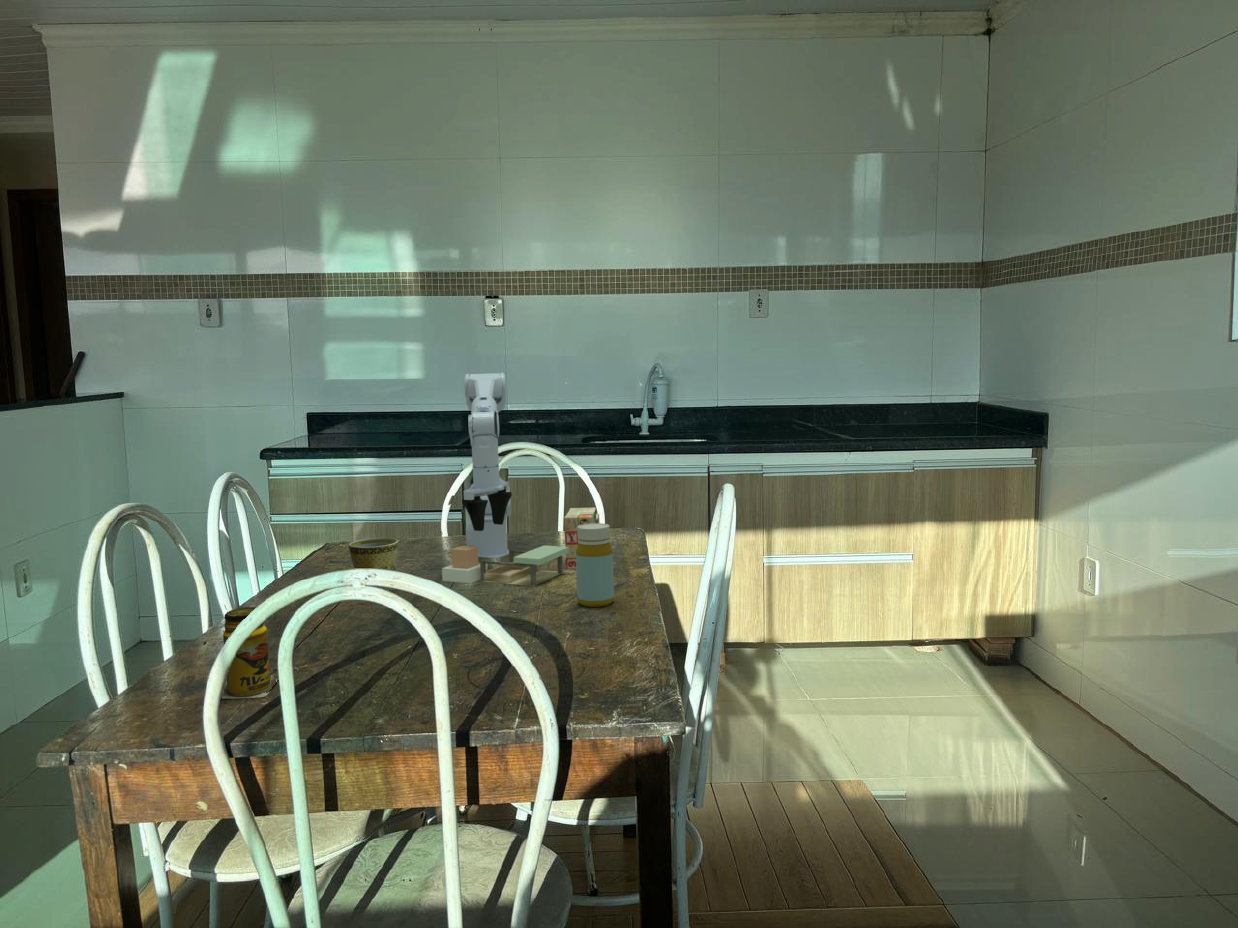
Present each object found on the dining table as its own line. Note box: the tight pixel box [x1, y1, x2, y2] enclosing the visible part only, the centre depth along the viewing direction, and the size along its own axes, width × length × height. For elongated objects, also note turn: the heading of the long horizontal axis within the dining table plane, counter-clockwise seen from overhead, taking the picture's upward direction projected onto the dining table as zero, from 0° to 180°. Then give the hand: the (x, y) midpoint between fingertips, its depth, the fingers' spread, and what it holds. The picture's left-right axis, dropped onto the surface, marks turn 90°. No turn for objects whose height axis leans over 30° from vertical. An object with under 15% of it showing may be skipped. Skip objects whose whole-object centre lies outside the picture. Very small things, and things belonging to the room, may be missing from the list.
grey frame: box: [479, 549, 565, 587], centre depth 204 cm, size 13×13×5 cm
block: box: [450, 544, 479, 569], centre depth 203 cm, size 4×4×4 cm
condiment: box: [221, 606, 278, 700], centre depth 138 cm, size 7×8×12 cm
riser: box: [441, 562, 489, 584], centre depth 204 cm, size 7×7×3 cm
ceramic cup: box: [348, 537, 399, 571], centre depth 198 cm, size 13×10×10 cm
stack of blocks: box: [563, 507, 600, 570], centre depth 219 cm, size 21×6×12 cm, turn 177°
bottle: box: [575, 522, 615, 608], centre depth 181 cm, size 7×7×15 cm
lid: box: [514, 544, 569, 566], centre depth 201 cm, size 6×13×1 cm, turn 154°
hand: (488, 527), depth 208 cm, fingers open, 7 cm apart
